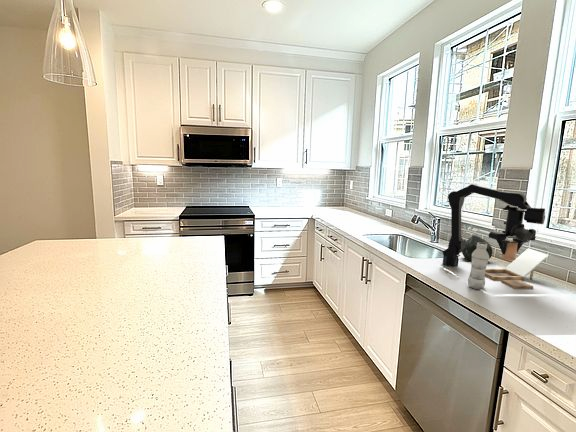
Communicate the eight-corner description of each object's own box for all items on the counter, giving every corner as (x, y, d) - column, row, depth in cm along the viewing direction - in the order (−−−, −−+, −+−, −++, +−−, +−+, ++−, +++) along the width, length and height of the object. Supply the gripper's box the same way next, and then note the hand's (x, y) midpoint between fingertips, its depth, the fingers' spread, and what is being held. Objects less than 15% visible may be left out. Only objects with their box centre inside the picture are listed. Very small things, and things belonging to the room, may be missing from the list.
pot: (507, 260, 138) (510, 242, 137) (498, 256, 143) (501, 239, 142) (518, 260, 139) (521, 242, 137) (509, 256, 144) (511, 240, 142)
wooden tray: (492, 282, 140) (493, 276, 140) (476, 273, 151) (476, 268, 151) (522, 282, 142) (523, 277, 141) (504, 273, 153) (505, 268, 152)
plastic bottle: (481, 286, 134) (488, 242, 131) (486, 292, 128) (493, 246, 125) (465, 284, 137) (471, 240, 133) (468, 289, 130) (475, 244, 127)
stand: (513, 290, 131) (514, 286, 131) (500, 284, 138) (501, 280, 138) (532, 290, 132) (533, 286, 132) (519, 284, 139) (519, 280, 139)
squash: (503, 255, 166) (488, 231, 173) (484, 258, 161) (469, 233, 168) (482, 265, 178) (468, 242, 185) (464, 268, 172) (451, 245, 179)
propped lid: (522, 282, 142) (527, 254, 140) (503, 273, 153) (508, 247, 150) (544, 282, 143) (549, 254, 141) (524, 273, 154) (528, 248, 151)
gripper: (509, 224, 129) (504, 259, 132) (549, 224, 131) (543, 259, 134) (489, 219, 140) (485, 252, 143) (527, 219, 142) (521, 252, 145)
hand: (509, 254), depth 141 cm, fingers closed on pot, 5 cm apart
